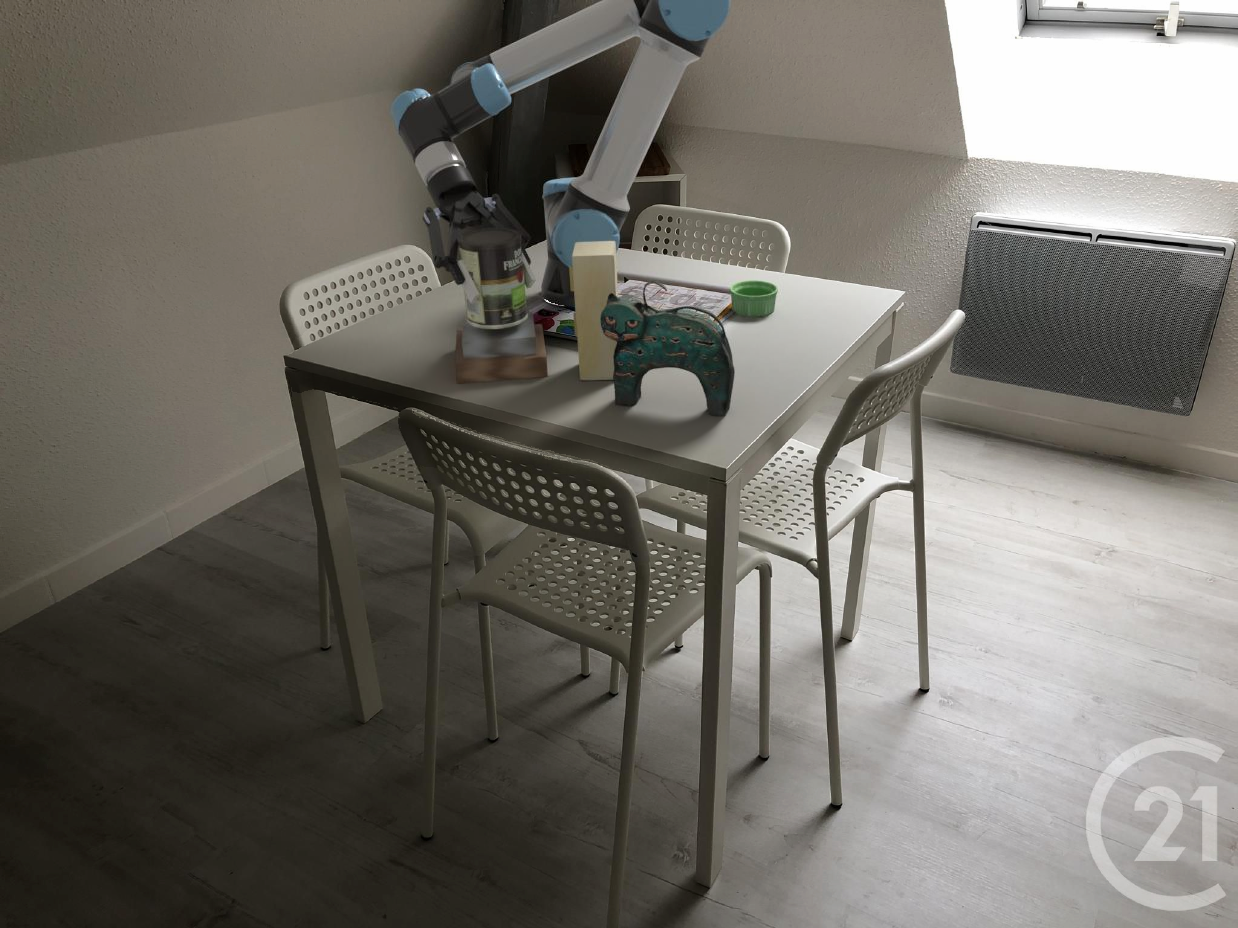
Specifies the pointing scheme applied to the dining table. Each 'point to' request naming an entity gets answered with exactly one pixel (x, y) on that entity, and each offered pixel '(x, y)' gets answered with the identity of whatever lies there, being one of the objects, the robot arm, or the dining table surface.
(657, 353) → the ceramic cat
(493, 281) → the coffee can
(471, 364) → the tower base
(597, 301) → the cream tall block
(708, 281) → the dining table surface
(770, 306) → the ramekin
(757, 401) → the dining table surface
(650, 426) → the dining table surface
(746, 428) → the dining table surface
